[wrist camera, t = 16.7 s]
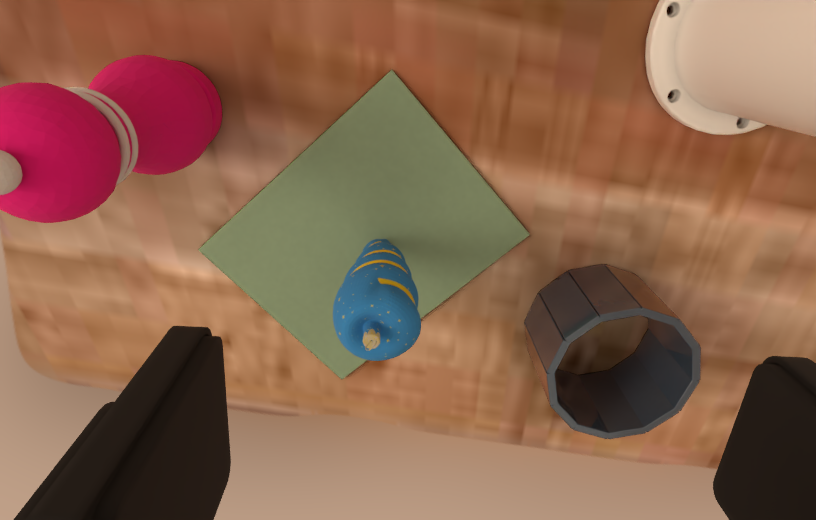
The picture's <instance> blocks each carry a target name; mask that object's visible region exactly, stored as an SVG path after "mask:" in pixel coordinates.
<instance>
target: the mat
mask: <svg viewBox="0 0 816 520" xmlns="http://www.w3.org/2000/svg"><path fill="white" fill-rule="evenodd" d="M529 235H530V234H529V233H528V231H527V230H526V229H525V228H524V227H523V225H522V224H521V223H520V222H519V221H518V219H517V218H516V217H515V216H514V215H513V213H512V212H511V211H510V210H509V209H508V207H507V206H506V205H505V204H504V203H503V201H502V200H501V199H500V198H499V197H498V196H497V194H496V193H495V192H494V191H493V190H492V188H491V187H490V186H489V185H488V184H487V182H486V181H485V180H484V179H483V178H482V176H481V175H480V174H479V173H478V172H477V170H476V169H475V168H474V167H473V166H472V164H471V163H470V162H469V161H468V160H467V158H466V157H465V156H464V155H463V154H462V153H461V151H460V150H459V149H458V148H457V147H456V145H455V144H454V143H453V142H452V141H451V139H450V138H449V137H448V136H447V135H446V133H445V132H444V131H443V130H442V129H441V127H440V126H439V125H438V124H437V123H436V121H435V120H434V119H433V118H432V117H431V115H430V114H429V113H428V112H427V111H426V109H425V108H424V107H423V106H422V105H421V104H420V102H419V101H418V100H417V99H416V98H415V96H414V95H413V94H412V93H411V92H410V90H409V89H408V88H407V87H406V86H405V84H404V83H403V82H402V81H401V80H400V78H399V77H398V76H397V75H396V74H395V72H394V71H393V70H391V71H390V72H389V73H388V74H386V75H385V76H384V77H383V78H382V79H381V80H380V81H379V82H378V83H377V84H376V85H375V86H374V87H372V88H371V89H370V90H369V91H368V92H367V93H366V94H365V95H364V96H363V97H362V98H361V99H360V100H358V101H357V102H356V103H355V104H354V105H353V106H352V107H351V108H350V109H349V110H348V111H347V112H346V113H345V114H343V115H342V116H341V117H340V118H339V119H338V120H337V121H336V122H335V123H334V124H333V125H332V126H331V127H329V128H328V129H327V130H326V131H325V132H324V133H323V134H322V135H321V136H320V137H319V138H318V139H317V140H315V141H314V142H313V143H312V144H311V145H310V146H309V147H308V148H307V149H306V150H305V151H304V152H303V153H302V154H300V155H299V156H298V157H297V158H296V159H295V160H294V161H293V162H292V163H291V164H290V165H289V166H288V167H286V168H285V169H284V170H283V171H282V172H281V173H280V174H279V175H278V176H277V177H276V178H275V179H274V180H272V181H271V182H270V183H269V184H268V185H267V186H266V187H265V188H264V189H263V190H262V191H261V192H260V193H258V194H257V195H256V196H255V197H254V198H253V199H252V200H251V201H250V202H249V203H248V204H247V205H246V206H245V207H243V208H242V209H241V210H240V211H239V212H238V213H237V214H236V215H235V216H234V217H233V218H232V219H231V220H229V221H228V222H227V223H226V224H225V225H224V226H223V227H222V228H221V229H220V230H219V231H218V232H217V233H215V234H214V235H213V236H212V237H211V238H210V239H209V240H208V241H207V242H206V243H205V244H204V245H203V246H201V247H200V248H199V251H200V252H201V253H202V254H203V255H205V256H206V257H207V258H208V259H209V260H210V261H211V262H212V263H213V264H214V265H216V266H217V267H218V268H219V269H220V270H221V271H222V272H223V273H224V274H226V275H227V276H228V277H229V278H230V279H231V280H232V281H233V282H234V283H236V284H237V285H238V286H239V287H240V288H241V289H242V290H243V291H244V292H245V293H247V294H248V295H249V296H250V297H251V298H252V299H253V300H254V301H255V302H257V303H258V304H259V305H260V306H261V307H262V308H263V309H264V310H265V311H267V312H268V313H269V314H270V315H271V316H272V317H273V318H274V319H275V320H276V321H278V322H279V323H280V324H281V325H282V326H283V327H284V328H285V329H286V330H288V331H289V332H290V333H291V334H292V335H293V336H294V337H295V338H296V339H298V340H299V341H300V342H301V343H302V344H303V345H304V346H305V347H306V348H307V349H309V350H310V351H311V352H312V353H313V354H314V355H315V356H316V357H317V358H319V359H320V360H321V361H322V362H323V363H324V364H325V365H326V366H327V367H329V368H330V369H331V370H332V371H333V372H334V373H335V374H336V375H337V376H338V377H340V378H341V379H343V378H345V377H346V376H347V375H349V374H350V373H351V372H353V371H354V370H355V369H356V368H358V367H359V366H360V365H362V364H363V363H364V362H365V361H367V360H366V359H362V358H360V357H357V356H355V355H354V354H352V353H351V352H349V351H348V350H347V349H346V348H345V347H344V346H343V344H342V343H341V341H340V340H339V338H338V336H337V334H336V331H335V328H334V323H333V305H334V301H335V298H336V295H337V292H338V290H339V288H340V287H341V285H342V284H343V282H344V280H345V277H346V274H347V273H348V271H349V269H350V268H351V267H352V266H353V265H354V264H355V262H356V260H357V258H358V257H359V256H360V254H361V253H362V251H363V249H364V247H365V246H366V245H367V244H368V243H369V242H370V241H372V240H375V239H387V240H388V241H389V242H390V243H391V244H392V245H394V246H396V247H397V248H398V249H399V250H400V251H401V252H402V254H403V255H404V258H405V262H406V264H407V265H408V267H409V269H410V271H411V276H412V280H413V281H414V283H415V285H416V288H417V291H418V308H417V310H418V312H419V314H420V319H421V318H423V317H424V316H425V315H426V314H428V313H429V312H430V311H432V310H433V309H434V308H436V307H437V306H438V305H439V304H441V303H442V302H443V301H445V300H446V299H447V298H448V297H450V296H451V295H452V294H454V293H455V292H456V291H458V290H459V289H460V288H461V287H463V286H464V285H465V284H467V283H468V282H469V281H471V280H472V279H473V278H474V277H476V276H477V275H478V274H480V273H481V272H482V271H484V270H485V269H486V268H487V267H489V266H490V265H491V264H493V263H494V262H495V261H496V260H498V259H499V258H500V257H502V256H503V255H504V254H506V253H507V252H508V251H509V250H511V249H512V248H513V247H515V246H516V245H517V244H519V243H520V242H521V241H522V240H524V239H525V238H526V237H528V236H529Z"/></svg>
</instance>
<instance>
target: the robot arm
mask: <svg viewBox="0 0 816 520" xmlns="http://www.w3.org/2000/svg"><path fill="white" fill-rule="evenodd" d="M668 6H669V7H670V9H671V10H670V13H669V14H667V7H668ZM645 62H646V70H647V77H648V80H649V83H650V86H651V89H652V92H653V94H654V95H655V97H656V99H657V100H658V102H659V104H660V105H661V107H662V108H663V109H664V110H665V111H666V112H667V113H668V114H669V115H670V116H671V117H672V118H674V119H675V120H677V121H678V122H680V123H681V124H683V125H685V126H687V127H690V128H692V129H695V130H697V131H701V132H705V133H709V134H717V135H733V134H741V133H746V132H749V131H752V130H755V129H758V128H761V127H764V126H766V125H771V126H775V127H779V128H783V129H787V130H791V131H795V132H799V133H803V134H806V135H810V136H814V137H816V0H659V2H658V5H657V7H656V9H655V12H654V14H653V17H652V19H651V22H650V26H649V30H648V34H647V39H646V52H645ZM670 91H671V96H670V98H668V94H669V93H670ZM738 119H739V121H738V122H737V120H738ZM230 463H231V461H230V444H229V431H228V416H227V401H226V387H225V373H224V359H223V345H222V340H221V338H220V337H217V336H212V334H211V331H210V329H209V328H208V327H188V326H173V327H172V328H171V329H170V330H169V331H168V332H167V334H166V335H165V336H164V338H163V339H162V340H161V342H160V343H159V344H158V345H157V347H156V348H155V349H154V351H153V352H152V353H151V355H150V356H149V357H148V359H147V360H146V361H145V363H144V364H143V365H142V367H141V368H140V369H139V371H138V372H137V373H136V374H135V376H134V377H133V378H132V380H131V381H130V382H129V384H128V385H127V386H126V388H125V389H124V390H123V392H122V393H121V394H120V396H119V397H118V398H117V400H116V401H115V402H110V403H107V404H105V405H104V406H103V407H102V408H101V409H100V410H99V411H98V412H97V414H96V415H95V416H94V418H93V419H92V420H91V422H90V423H89V424H88V425H87V427H86V428H85V429H84V430H83V432H82V433H81V434H80V435H79V437H78V438H77V439H76V441H75V442H74V443H73V444H72V446H71V447H70V448H69V449H68V451H67V452H66V454H65V455H64V456H63V457H62V458H61V460H60V461H59V462H58V464H57V465H56V466H55V467H54V469H53V470H52V471H51V472H50V474H49V475H48V476H47V478H46V479H45V480H44V481H43V483H42V484H41V485H40V487H39V488H38V489H37V490H36V492H35V493H34V494H33V495H32V497H31V498H30V499H29V501H28V502H27V503H26V504H25V506H24V507H23V508H22V510H21V511H20V512H19V513H18V515H17V516H16V517H15V518H14V520H213V519H214V517H215V514H216V511H217V509H218V506H219V503H220V501H221V498H222V495H223V493H224V490H225V487H226V485H227V482H228V478H229V473H230ZM713 490H714V495H715V498H716V500H717V502H718V503H719V505H720V507H721V508H722V509H723V511H724V512H725V514H726V515H727V517H728V518H729V520H816V363H814V362H813V361H811V360H810V359H808V358H800V357H781V356H772V357H769V358H767V359H766V360H765V361H764V362H763V364H760V365H758V366H757V367H756V368H755V370H754V371H753V374H752V377H751V379H750V382H749V385H748V388H747V390H746V393H745V396H744V399H743V401H742V404H741V407H740V409H739V412H738V415H737V418H736V420H735V423H734V426H733V429H732V431H731V434H730V437H729V439H728V442H727V445H726V448H725V450H724V453H723V456H722V459H721V461H720V464H719V467H718V470H717V472H716V475H715V478H714V482H713Z"/></svg>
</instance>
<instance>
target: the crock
mask: <svg viewBox="0 0 816 520" xmlns="http://www.w3.org/2000/svg"><path fill="white" fill-rule="evenodd" d="M638 315H641V316H644V317H648V330H647V332H646V333H645V335H644V337H643V339H642V340H641V342H640V344H639V346H638V347H637V349H636V351H635V352H634V354H632V355H631V356H629V357H628V358H626V359H625V360H623V361H622V362H620V363H619V364H617V365H616V366H614V367H613V368H611V369H610V370H606V371H601V372H595V373H589V374H583V375H576V374H573V373H569V372H566V371H563V370H559V369H557V368H558V366H559V364H560V362H561V360H562V359H563V357H564V355H565V353H566V351H567V349H568V347H569V345H570V343H572V342H573V341H575V340H576V339H578V338H579V337H581V336H582V335H583V334H585V333H586V332H588V331H589V330H591V329H592V328H593V327H595V326H596V325H598V324H599V323H601V322H604V321H610V320H615V319H621V318H627V317H632V316H638ZM524 325H525V333H526V341H527V348H528V352H529V354H530V357H531V359H532V362H533V364H534V367H535V369H536V372H537V374H538V377H539V379H540V381H541V384H542V386H543V389H544V391H545V394H546V396H547V399H548V401H549V404H550V406H551V407H552V408H553V409H554V410H555V412H556V413H557V414H558V415H559V416H560V417H561V418H562V419H563V420H564V421H565V422H566V423H567V424H568V425H569V426H570V427H571V428H572V429H573V430H576V431H579V432H583V433H586V434H590V435H594V436H597V437H601V438H605V439H607V438H608V439H613V438H619V437H625V436H631V435H637V434H643V433H646V432H649V431H650V430H652V429H653V428H655V427H657V426H658V425H660V424H661V423H663V422H665V421H666V420H668V419H669V418H671V417H673V416H674V415H676V414H677V413H679V411H681V410H682V408H683V406H684V405H685V403H686V402H687V400H688V399H689V397H690V396H691V394H692V393H693V391H694V389H695V388H696V386H697V385H698V383H699V380H700V362H701V347H700V345H699V343H698V342H697V341H696V340H695V338H694V337H693V336H692V334H691V333H690V332H689V330H688V329H687V328H686V327H685V325H684V324H683V323H682V321H681V320H680V319H679V318H678V317H677V316H676V315H675V314H674V313H673V312H672V311H671V310H670V309H669V308H668V307H667V306H666V305H665V304H664V303H663V302H662V301H661V300H660V298H659V297H658V296H657V295H656V294H655V293H654V292H653V291H652V290H651V289H650V288H649V287H648V286H647V285H646V284H645V283H644V282H643V281H642V280H641V279H640V278H639V277H638V276H637V275H636V274H634V273H631V272H627V271H624V270H621V269H618V268H615V267H612V266H609V265H606V264H604V265H603V264H600V265H594V266H589V267H583V268H578V269H573V270H568V271H566V272H565V273H564V274H562V275H561V276H560V277H558V278H557V279H555V280H554V281H553V282H551V283H550V284H549V285H547V286H546V287H545V288H543V289H542V290H541V291H539V293H538V294H537V296H536V298H535V300H534V302H533V304H532V306H531V309H530V311H529V313H528V315H527V317H526V319H525V322H524ZM645 431H646V432H645Z"/></svg>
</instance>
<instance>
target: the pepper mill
mask: <svg viewBox="0 0 816 520" xmlns="http://www.w3.org/2000/svg"><path fill="white" fill-rule="evenodd" d="M221 121H222V105H221V101H220V97H219V95H218V93H217V90H216V89H215V87H214V85H213V84H212V82H211V81H210V80H209V79H208V78H207V77H206V76H205V75H204V74H203V73H202V72H201V71H199V70H198V69H197V68H195V67H193V66H191V65H189V64H186V63H183V62H180V61H173V60H167V59H164V58H160V57H156V56H150V55H136V56H131V57H127V58H124V59H120V60H117V61H115V62H113V63H111V64H110V65H108V66H106V67H105V68H104V69H103V70H102V71H101V72H99V74H98V75H97V76H96V77H95V78H94V79H93V81H92V82H91V83H90V86H89V88H88V89H87V88H82V87H68V88H61V87H58V86H55V85H52V84H48V83H32V82H31V83H16V84H12V85H8V86H4V87H1V88H0V210H2V211H4V212H7V213H9V214H11V215H13V216H16V217H19V218H22V219H25V220H29V221H35V222H42V223H54V222H62V221H67V220H72V219H75V218H78V217H81V216H83V215H86V214H88V213H90V212H91V211H93V210H95V209H96V208H97V207H99V206H100V205H101V204H102V203H104V202H105V201H106V200H107V198H108V197H109V196H110V195H111V193H112V192H113V191H114V189H115V186H116V185H117V184H119V183H120V182H122V181H123V180H124V179H125V178H127V177H128V175H129V174H130V173H131V172H132V171H133V172H137V173H142V174H152V175H159V174H167V173H172V172H175V171H178V170H180V169H183V168H185V167H186V166H188V165H190V164H192V163H193V162H194V161H195V160H196V159H198V158H199V157H200V155H201V154H202V153H203V152H204V150H205V149H206V147H207V144H209V143H210V142H211V141H212V140H213V139H214V137H215V136H216V134H217V133H218V131H219V128H220V125H221Z"/></svg>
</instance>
